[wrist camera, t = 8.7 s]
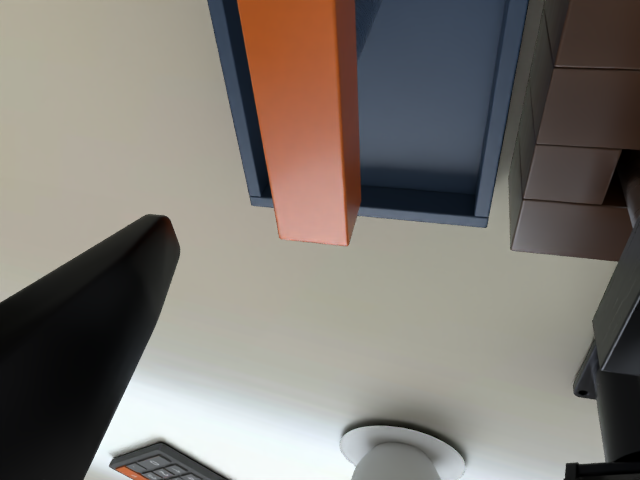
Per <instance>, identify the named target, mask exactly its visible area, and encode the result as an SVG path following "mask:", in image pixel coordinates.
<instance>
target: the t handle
mask: <svg viewBox="0 0 640 480" xmlns="http://www.w3.org/2000/svg"><path fill="white" fill-rule="evenodd" d="M382 1H383V0H237V3H238V9H239V15H240V20H241V26H242V31H243V37H244V43H245V48H246V54H247V59H248V65H249V71H250V76H251V82H252V87H253V93H254V99H255V104H256V110H257V115H258V121H259V127H260V132H261V138H262V143H263V149H264V155H265V160H266V166H267V171H268V177H269V183H270V188H271V194H272V199H273V205H274V211H275V216H276V222H277V227H278V233H279V238H280V239H284V240H293V241H303V242H312V243H321V244H331V245H340V246H348V245H349V243H350V239H351V236H352V232H353V229H354V225H355V221H356V218H357V214H358V211H359V207H360V203H361V178H360V147H359V115H358V83H357V63H358V60H359V58H360V55H361V53H362V50H363V48H364V45H365V43H366V40H367V38H368V35H369V33H370V30H371V28H372V25H373V23H374V21H375V18H376V16H377V13H378V11H379V8H380V6H381V3H382Z"/></svg>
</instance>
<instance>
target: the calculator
mask: <svg viewBox="0 0 640 480" xmlns="http://www.w3.org/2000/svg"><path fill="white" fill-rule="evenodd" d="M109 467H111V468H112V469H114V470H116V471H118V472H120V473H122V474H123V475H125V476H127V477H129V478H131V479H133V480H226V479H224V478H222V477H220V476H219V475H217V474H215V473H213V472H212V471H210V470H208V469H207V468H205V467H203V466H201V465H200V464H198V463H196V462H194V461H193V460H191V459H189V458H188V457H186V456H184V455H182V454H181V453H179V452H177V451H175V450H174V449H172V448H170V447H168V446H167V445H165V444H163V443H158V444H155V445H152V446H149V447H146V448H143V449H141V450H138V451H135V452H132V453H129V454H126V455H123V456H120V457H117V458H114V459H112V461H111V463H110V465H109Z"/></svg>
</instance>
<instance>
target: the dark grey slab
mask: <svg viewBox="0 0 640 480" xmlns="http://www.w3.org/2000/svg"><path fill="white" fill-rule="evenodd" d="M616 168H617V171H618V175H619V179H620V183H621V186H622V190H623V194H624V197H625V201H626V205H627V208H628V212H629V216H630V219H631V223H632V227H633V230H632V232H631V234H630V237H629V239H628V241H627V243H626V246H625V248H624V250H623V252H622V255H621V257H620V259H619V262H618V264H617V266H616V268H615V271H614V273H613V275H612V277H611V280H610V282H609V284H608V286H607V289H606V291H605V293H604V295H603V298H602V300H601V302H600V305H599V307H598V309H597V311H596V314H595V316H594V318H593V320H592V322H593V328H594V335H595V341H596V347H597V353H598V359H599V365H600V369H601V370H602V371H608V372H615V373H621V374H628V375H635V376H640V150H634V149H622V152H621V155H620V158H619V160H618V163H617V166H616Z"/></svg>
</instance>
